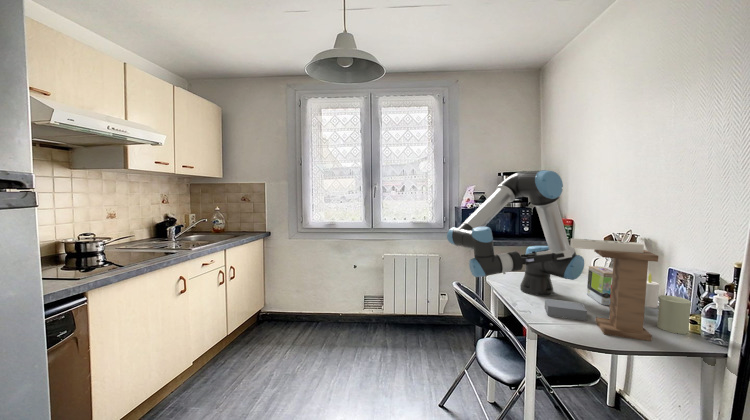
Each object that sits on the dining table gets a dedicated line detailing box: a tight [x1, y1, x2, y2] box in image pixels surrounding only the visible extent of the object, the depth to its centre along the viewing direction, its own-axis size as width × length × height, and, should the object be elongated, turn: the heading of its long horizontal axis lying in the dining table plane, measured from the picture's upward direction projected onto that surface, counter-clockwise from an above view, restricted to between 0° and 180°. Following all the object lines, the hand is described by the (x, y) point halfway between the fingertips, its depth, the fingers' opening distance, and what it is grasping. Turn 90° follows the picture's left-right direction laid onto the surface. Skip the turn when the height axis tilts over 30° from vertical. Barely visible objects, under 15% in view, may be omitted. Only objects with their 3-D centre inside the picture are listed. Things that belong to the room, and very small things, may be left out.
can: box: [656, 294, 692, 335], centre depth 128 cm, size 9×9×12 cm
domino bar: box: [569, 238, 645, 253], centre depth 126 cm, size 4×22×3 cm, turn 70°
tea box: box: [586, 265, 613, 306], centre depth 159 cm, size 15×10×15 cm, turn 171°
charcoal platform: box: [544, 298, 588, 322], centre depth 142 cm, size 10×14×4 cm
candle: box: [645, 272, 660, 309], centre depth 153 cm, size 6×6×15 cm
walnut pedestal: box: [593, 249, 659, 342], centre depth 125 cm, size 12×16×30 cm
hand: (561, 253), depth 136 cm, fingers open, 13 cm apart
